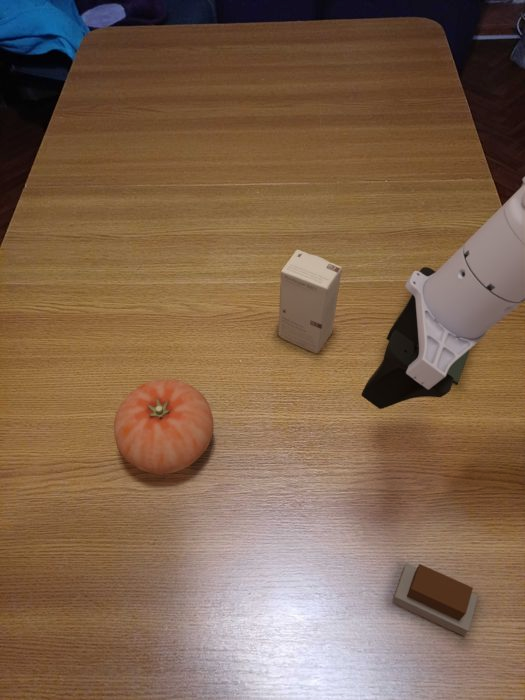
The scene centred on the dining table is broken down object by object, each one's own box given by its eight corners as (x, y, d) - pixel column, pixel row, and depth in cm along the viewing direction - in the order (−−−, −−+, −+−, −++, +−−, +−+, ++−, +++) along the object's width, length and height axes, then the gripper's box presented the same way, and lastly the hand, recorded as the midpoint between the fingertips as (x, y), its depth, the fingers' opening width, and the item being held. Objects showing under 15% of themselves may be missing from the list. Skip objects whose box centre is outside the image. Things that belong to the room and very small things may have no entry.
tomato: (102, 442, 70) (84, 406, 64) (175, 386, 75) (165, 347, 68) (162, 506, 66) (149, 473, 59) (236, 442, 70) (231, 405, 64)
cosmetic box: (277, 337, 79) (276, 271, 69) (293, 314, 81) (295, 246, 72) (320, 356, 77) (325, 290, 67) (335, 331, 79) (343, 264, 70)
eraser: (473, 600, 59) (485, 587, 56) (463, 636, 57) (475, 624, 54) (403, 569, 61) (410, 554, 58) (391, 602, 59) (398, 589, 56)
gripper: (468, 190, 48) (371, 296, 57) (427, 292, 38) (318, 398, 48) (540, 244, 48) (431, 340, 58) (518, 360, 38) (390, 451, 48)
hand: (384, 370), depth 53 cm, fingers open, 7 cm apart
